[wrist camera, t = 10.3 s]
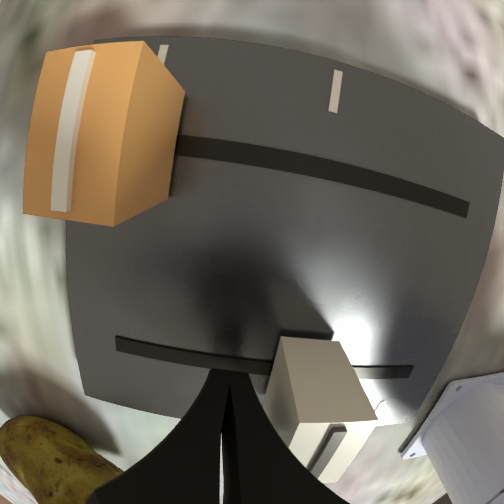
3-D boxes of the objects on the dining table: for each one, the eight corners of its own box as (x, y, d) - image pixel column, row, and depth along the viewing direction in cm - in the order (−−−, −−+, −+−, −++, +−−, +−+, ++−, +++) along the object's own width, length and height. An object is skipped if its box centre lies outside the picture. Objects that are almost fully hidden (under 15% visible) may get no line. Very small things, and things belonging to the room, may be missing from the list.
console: (487, 139, 11) (507, 139, 9) (400, 406, 15) (410, 422, 13) (109, 51, 9) (93, 39, 8) (94, 377, 14) (84, 396, 12)
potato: (2, 367, 14) (-57, 437, 6) (169, 451, 15) (150, 555, 8) (15, 428, 16) (-21, 488, 8) (148, 492, 17) (133, 567, 10)
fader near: (185, 91, 8) (140, 36, 4) (167, 199, 9) (108, 228, 5) (118, 89, 8) (41, 49, 4) (103, 191, 9) (17, 215, 5)
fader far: (339, 340, 11) (381, 424, 7) (315, 404, 12) (337, 485, 8) (280, 336, 11) (300, 428, 7) (263, 402, 12) (271, 489, 8)
